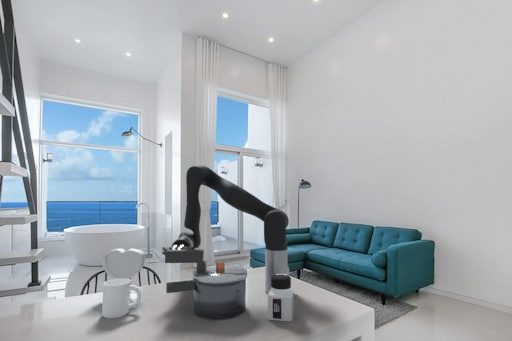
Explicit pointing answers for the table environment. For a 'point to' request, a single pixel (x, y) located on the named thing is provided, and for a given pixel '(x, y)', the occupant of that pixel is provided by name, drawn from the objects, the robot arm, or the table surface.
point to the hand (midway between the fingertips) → (173, 255)
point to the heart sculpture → (123, 264)
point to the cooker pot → (214, 298)
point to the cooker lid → (206, 267)
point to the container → (281, 298)
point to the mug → (118, 297)
